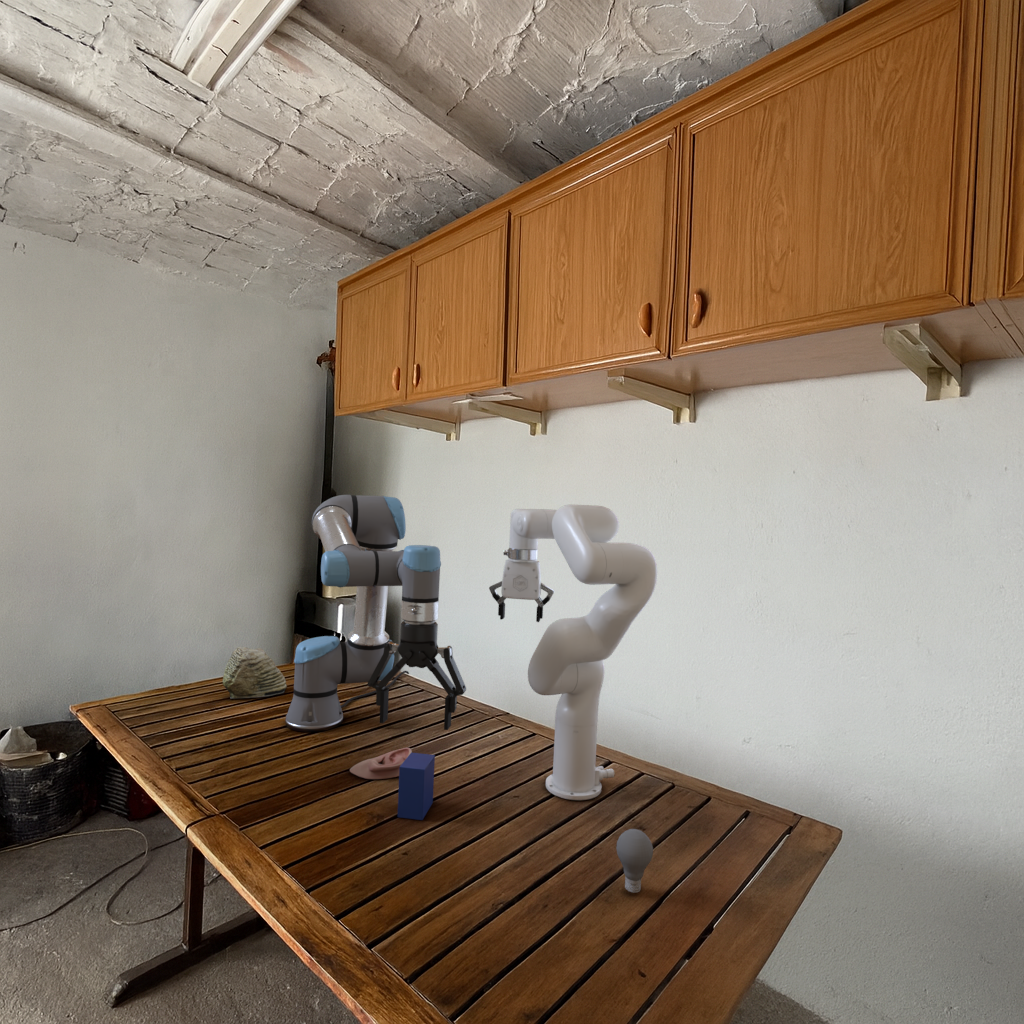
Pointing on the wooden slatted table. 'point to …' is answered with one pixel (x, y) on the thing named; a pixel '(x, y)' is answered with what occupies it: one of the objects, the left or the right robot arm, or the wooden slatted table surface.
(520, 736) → the wooden slatted table surface
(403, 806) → the brick
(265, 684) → the fossil
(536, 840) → the wooden slatted table surface
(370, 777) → the anatomical model
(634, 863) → the light bulb
